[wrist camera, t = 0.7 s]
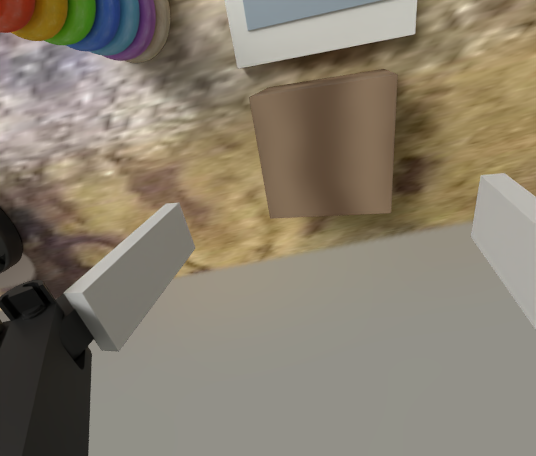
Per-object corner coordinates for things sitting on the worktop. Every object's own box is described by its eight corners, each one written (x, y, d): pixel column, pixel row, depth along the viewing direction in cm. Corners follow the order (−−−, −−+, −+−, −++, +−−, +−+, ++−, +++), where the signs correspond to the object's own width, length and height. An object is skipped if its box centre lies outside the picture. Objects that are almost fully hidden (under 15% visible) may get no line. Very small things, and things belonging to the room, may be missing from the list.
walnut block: (282, 187, 32) (270, 218, 26) (268, 87, 27) (249, 97, 22) (380, 180, 30) (391, 212, 24) (383, 68, 25) (397, 74, 19)
